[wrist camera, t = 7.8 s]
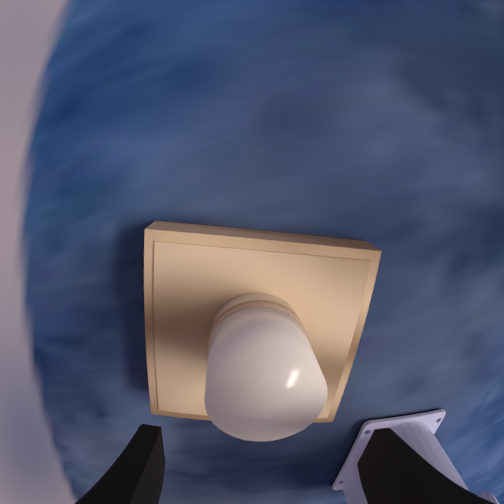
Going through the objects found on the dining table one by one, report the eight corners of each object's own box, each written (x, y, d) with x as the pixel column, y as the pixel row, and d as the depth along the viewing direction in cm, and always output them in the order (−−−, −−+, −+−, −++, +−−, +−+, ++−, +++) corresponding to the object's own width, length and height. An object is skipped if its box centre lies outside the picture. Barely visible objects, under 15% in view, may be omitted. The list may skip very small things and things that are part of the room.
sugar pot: (284, 377, 16) (302, 446, 11) (200, 361, 16) (192, 432, 11) (314, 303, 15) (348, 362, 10) (222, 281, 14) (219, 339, 10)
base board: (325, 401, 20) (333, 422, 18) (157, 392, 19) (151, 414, 17) (365, 241, 17) (382, 252, 15) (154, 220, 16) (144, 229, 14)
